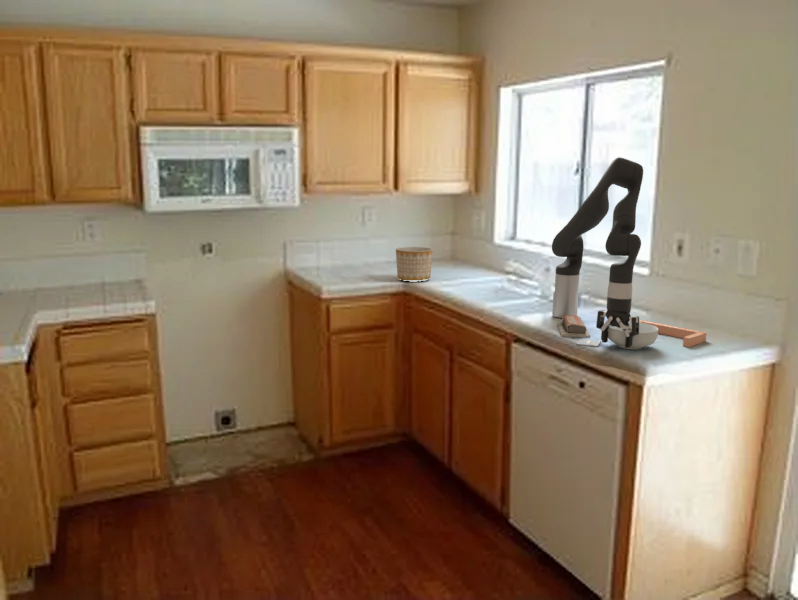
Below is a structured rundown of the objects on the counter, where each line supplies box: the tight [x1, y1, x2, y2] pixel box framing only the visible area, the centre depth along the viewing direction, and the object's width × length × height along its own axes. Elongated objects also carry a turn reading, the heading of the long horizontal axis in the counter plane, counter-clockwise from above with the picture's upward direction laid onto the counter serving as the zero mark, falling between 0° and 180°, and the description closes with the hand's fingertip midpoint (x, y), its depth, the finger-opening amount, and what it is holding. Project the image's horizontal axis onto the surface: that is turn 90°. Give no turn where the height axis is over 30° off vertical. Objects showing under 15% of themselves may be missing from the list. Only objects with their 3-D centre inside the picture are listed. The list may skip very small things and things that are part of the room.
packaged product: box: [556, 315, 591, 338], centre depth 247 cm, size 18×5×10 cm
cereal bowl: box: [607, 321, 659, 350], centre depth 226 cm, size 17×17×7 cm
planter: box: [395, 246, 434, 280], centre depth 354 cm, size 19×19×16 cm
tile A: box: [576, 338, 602, 348], centre depth 230 cm, size 7×7×1 cm
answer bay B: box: [639, 319, 708, 348], centre depth 239 cm, size 12×25×3 cm, turn 40°
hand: (616, 344), depth 221 cm, fingers open, 8 cm apart
